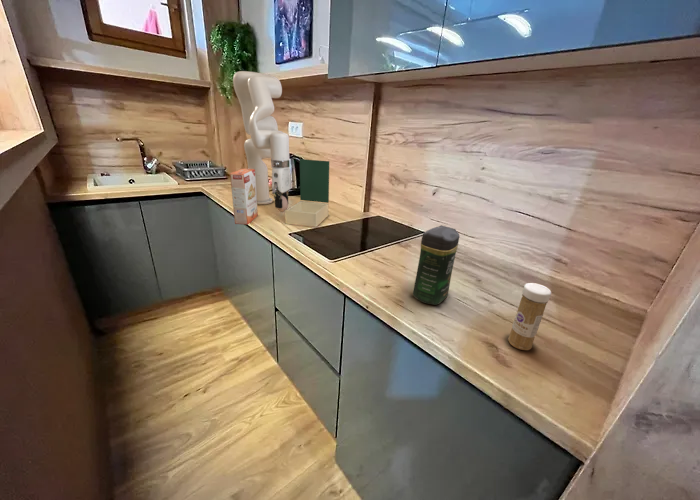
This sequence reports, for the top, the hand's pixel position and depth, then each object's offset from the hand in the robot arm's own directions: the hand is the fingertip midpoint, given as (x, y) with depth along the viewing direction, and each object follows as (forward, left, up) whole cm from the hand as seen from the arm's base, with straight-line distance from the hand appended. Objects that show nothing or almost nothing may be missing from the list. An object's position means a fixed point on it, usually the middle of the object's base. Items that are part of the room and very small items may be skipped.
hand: (281, 205), depth 134 cm
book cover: (+12, +10, +10) cm, 18 cm away
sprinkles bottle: (+83, -64, -6) cm, 104 cm away
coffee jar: (+65, -50, -6) cm, 82 cm away
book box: (+12, +1, -6) cm, 13 cm away
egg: (0, 0, -3) cm, 3 cm away
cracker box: (-12, -9, -6) cm, 16 cm away
